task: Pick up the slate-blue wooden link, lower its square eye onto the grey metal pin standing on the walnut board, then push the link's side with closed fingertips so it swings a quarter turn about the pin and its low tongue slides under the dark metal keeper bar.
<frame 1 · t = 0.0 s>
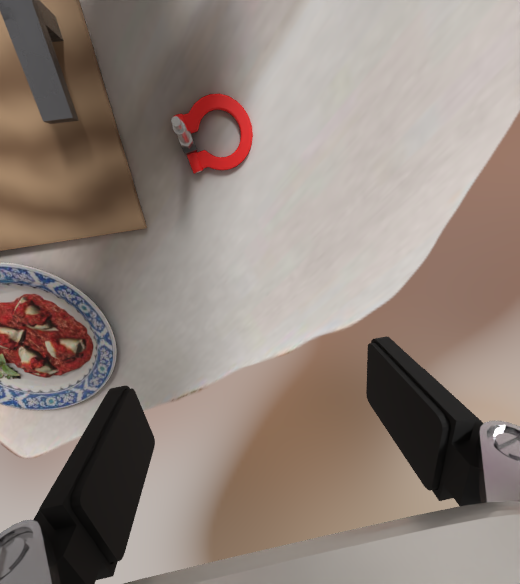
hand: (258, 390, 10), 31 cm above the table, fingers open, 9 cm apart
keeper: (50, 35, 28), resting on board
board: (17, 143, 32), on the table
ceramic plate: (35, 336, 41), on the table
tow hook: (216, 136, 34), on the table
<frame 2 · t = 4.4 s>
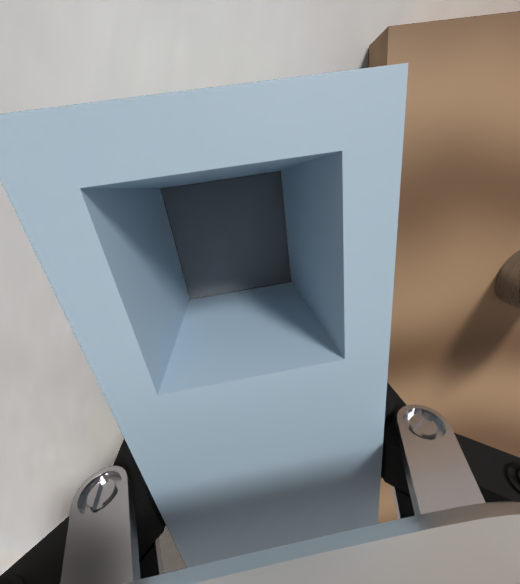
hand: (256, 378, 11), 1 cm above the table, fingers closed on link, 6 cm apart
link: (274, 479, 14), on the table, touching gripper
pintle: (498, 268, 11), resting on board
when the fingers open (3 cm above the table, at t = 10.8 s): link drops 1 cm, resting on board.
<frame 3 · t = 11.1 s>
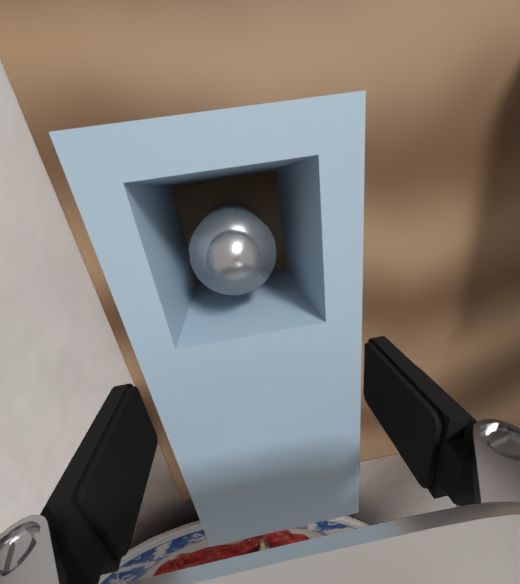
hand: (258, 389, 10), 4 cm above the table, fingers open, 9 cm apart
link: (272, 453, 16), point 1 cm above the table, touching board
board: (359, 289, 13), on the table
ceramic plate: (246, 572, 23), on the table
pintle: (230, 229, 12), resting on board
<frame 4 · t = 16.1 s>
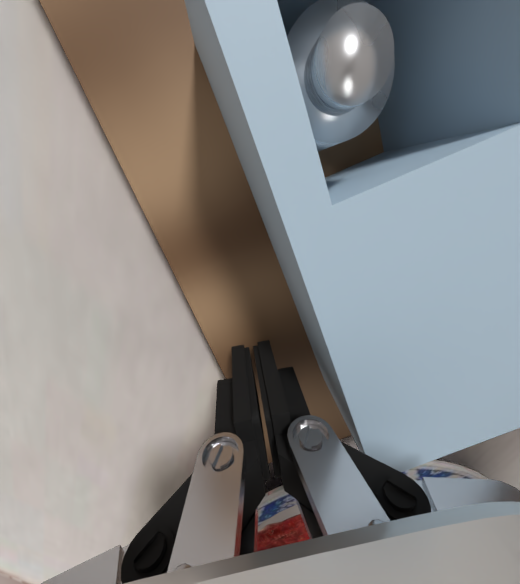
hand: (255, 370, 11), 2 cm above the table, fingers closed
link: (388, 391, 14), point 1 cm above the table, touching gripper, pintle
board: (444, 182, 11), on the table
ceramic plate: (337, 539, 22), on the table
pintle: (287, 125, 10), resting on board
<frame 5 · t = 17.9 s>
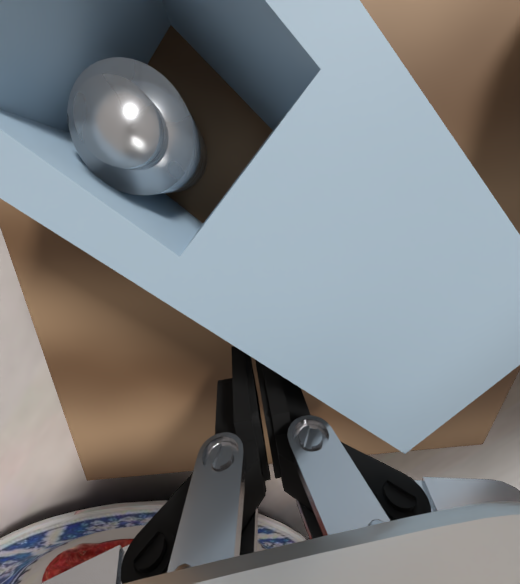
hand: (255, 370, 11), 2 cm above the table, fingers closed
link: (417, 341, 13), point 1 cm above the table, touching board, gripper, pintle
board: (319, 260, 12), on the table
ceramic plate: (161, 572, 21), on the table
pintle: (176, 156, 10), resting on board
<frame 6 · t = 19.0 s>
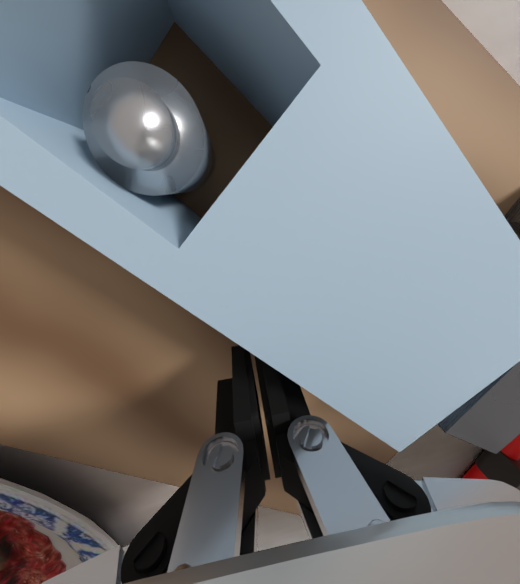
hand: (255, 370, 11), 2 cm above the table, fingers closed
link: (414, 342, 13), point 1 cm above the table, touching board, gripper
keeper: (515, 214, 12), resting on board
board: (266, 308, 13), on the table
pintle: (183, 157, 10), resting on board
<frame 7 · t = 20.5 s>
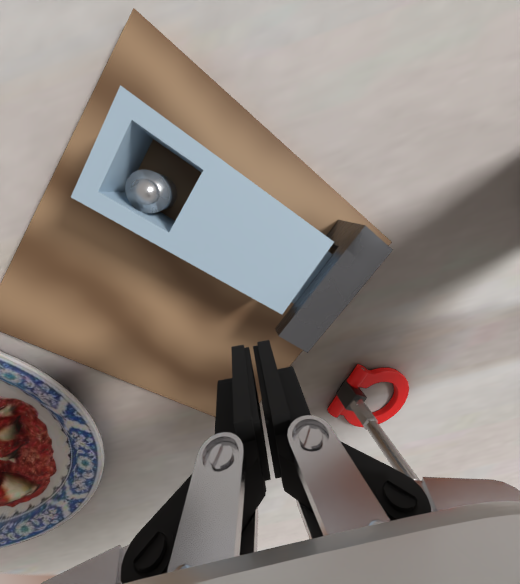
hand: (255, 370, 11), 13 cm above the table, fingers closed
link: (309, 275, 23), point 1 cm above the table, touching board
keeper: (337, 237, 23), resting on board
board: (202, 276, 22), on the table
tow hook: (368, 392, 31), on the table
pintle: (162, 192, 20), resting on board
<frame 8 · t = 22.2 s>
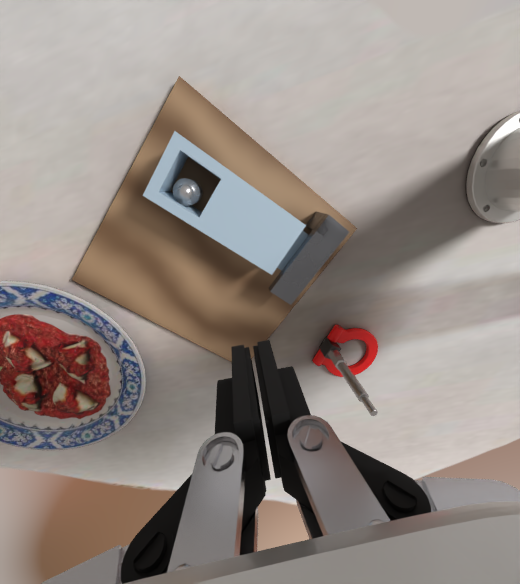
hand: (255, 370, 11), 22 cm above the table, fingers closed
link: (295, 252, 32), point 1 cm above the table, touching board
keeper: (317, 225, 32), resting on board
board: (218, 251, 31), on the table
ceramic plate: (49, 365, 35), on the table
tow hook: (346, 349, 40), on the table
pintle: (192, 191, 29), resting on board
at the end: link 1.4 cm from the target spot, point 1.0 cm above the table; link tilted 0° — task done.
